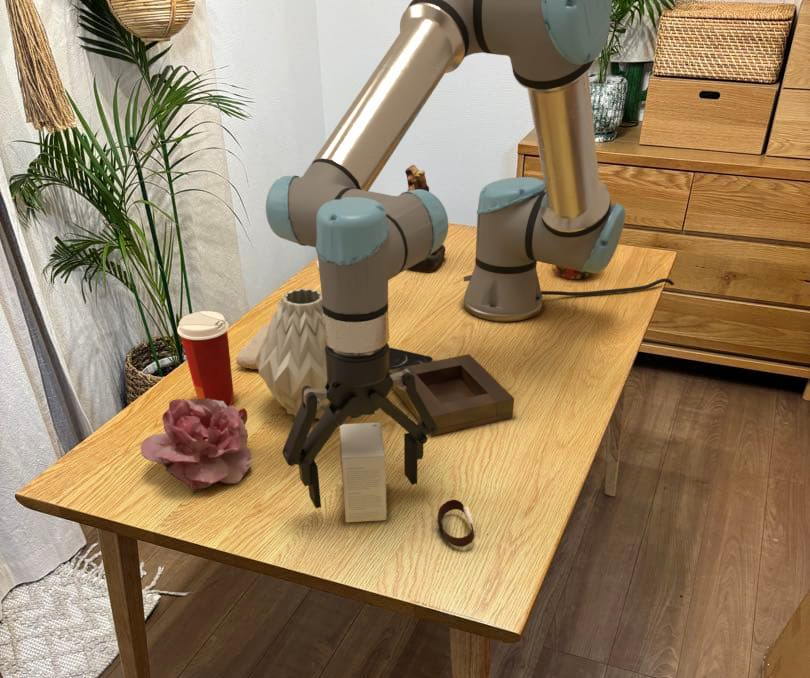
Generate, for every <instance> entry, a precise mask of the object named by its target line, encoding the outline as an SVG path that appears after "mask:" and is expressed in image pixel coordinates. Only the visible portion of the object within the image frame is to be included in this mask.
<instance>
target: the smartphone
mask: <svg viewBox="0 0 810 678" xmlns="http://www.w3.org/2000/svg"><path fill="white" fill-rule="evenodd" d="M432 361H434V358H433V357H432V356H429V355H425V354H421V353H417V352H412V351H407V350H403V349H398V348H395V347H390V346H389V362H390V371H389V374H392V369H397V368H400V367H402V366H405V367H407V366H412V365H417V364H422V363H427V362H432Z"/></svg>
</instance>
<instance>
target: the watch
mask: <svg viewBox="0 0 810 678" xmlns="http://www.w3.org/2000/svg"><path fill="white" fill-rule="evenodd" d="M454 510H456V511H457V510H458V511H461V512H462V513H463V514H464V515H465V518H466V519H465V520H466V522H467V524H468V526H469V529H470V532H469V533H468V534H466V535H465V536H462V537H455V536H452V535H450V534H448V533H447V532H446V531H445V529H444V524H443V518H444V516H445V515H447V513H449V512H450V511H454ZM473 519H474V518H473V515H472V513H471V511H470V508H469V507H468V506H465V505H464V504H463V502H462V501H460V500H457V499H450V500H447V501H446V502H444V503H443V504H442V505H441V506H440V507H439V509H438V512H437V524H438V526H439V530H440V533H441V535H442V536H444V539H445V540H446V541H447V542H448V543H449V544H450V545H452V546H455V547H459V548H461V547H462V548H463V547H466V546H469V545H470V544H471V543H472V542H473V541H474V539H475V531H476V530H477V529H476V525H475V522H474V520H473Z"/></svg>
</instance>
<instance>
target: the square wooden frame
mask: <svg viewBox="0 0 810 678" xmlns="http://www.w3.org/2000/svg"><path fill="white" fill-rule="evenodd" d="M406 368H407V369H408V370H409V371H410V372H411V373H412V374H413V376H414V377H415V385H416V391H417V392H418V394H419V396H420V398H421V399H422V401H423V403H424V405H425V406H426V408H427V410H428V412H429V413H430V415H431V417H432V419H433V420H434V422H435V424H436V426H437V427H438V430H437V432H436V433H434V434H431V433H430V434H428V435H429V436H430V437H435V436H438V435H443V434H447V433H452V432H456V431H460V430H465V429H468V428H474V427H477V426H483V425H487V424H491V423H495V422H501V421H505V420H509V419H512V418H513V416H514V406H515V397H514V396H513V395H512V394H511V393H510V392H509V391H508V390H506V389H505V388H504V387H503V386H502V385H501V383H500V382H498V381H497V379H496V378H494V377H493V376H492V375H491V374H490V372H488V371H487V370H486V369H485V368H484V367H483V366H482V365H481V364H480V363H479V361H477V360H476V359H475V358H474V357H473V356H472V355H471V354H470V353H467V354H463V355H458V356H453V357H448V358H441V359H437V360H433V361H432V362H427V363H422V364H417V365H412V366H407V367H406ZM398 370H399V368H397V369H392V374H394V373H397V372H398ZM392 390H393V391H394V392H395V393H396V395H397V396H398V397H399V398H400V399H401V401H402V402H403V403H404V405H405V406H406V407H407V408H408V410H409V411H410V412H411V413H412V415H413V416H414V417H415V419H416V420H417V421H418V422H419V423H421V420H420V418H419V417H418V415H417V413H416V411H415V410H414V408H413V406H412V405H411V403H410V401H409V400H408V398H407V396H406V394H405V393H404V391H403V390H400V389H399V388H398V387H397V386H396V385H393V388H392Z"/></svg>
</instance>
